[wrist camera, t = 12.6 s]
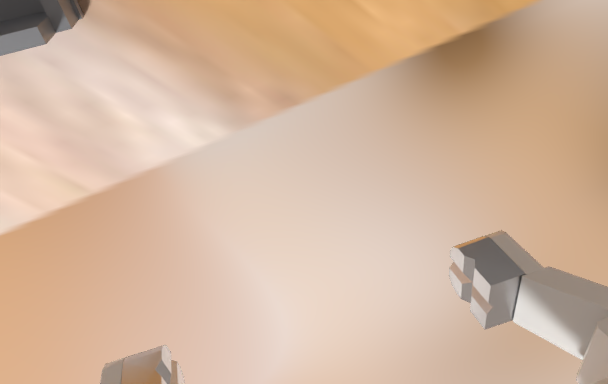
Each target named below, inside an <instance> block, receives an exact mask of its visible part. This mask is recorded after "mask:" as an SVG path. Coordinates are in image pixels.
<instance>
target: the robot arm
mask: <svg viewBox="0 0 608 384" xmlns="http://www.w3.org/2000/svg"><path fill="white" fill-rule="evenodd" d="M450 257H451V259H452V260H453V261H454V262H453V264H452V265H451V267H450V268H449V269H450V271H449V276H450V279H451V283H452V286H453V287H454V289H455V291H456V292H457V294H458V295H459V297H460V298H461V299H463V300H465V301H467V302H470V303H471V306H470V311H471V313H472V314H473V315H474V316H475V318H476V319H477V320H478V322H479V323H480V324H481V325H482V327H483V328H484V329H488V328H491V327H494V326H496V325H500V324H503V323H506V322H508V321H512V320H513V322H514V323H516V324H518V325H520V326H522V327H524V328H525V329H527V330H529V331H531V332H532V333H534V334H536V335H538V336H540V337H541V338H543V339H545V340H547V341H548V342H551V343H552V344H554V345H556V346H558V347H559V348H561V349H563V350H565V351H567V352H568V353H570V354H572V355H574V356H576V357H578V358H579V359H581V360H582V363H581V366H580V368H579V370H578V373H577V377H576V381H577V382H578V383H579V384H608V287H607V286H604V285H601V284H598V283H595V282H592V281H589V280H586V279H584V278H581V277H578V276H575V275H572V274H569V273H566V272H564V271H561V270H558V269H555V268H552V267H546V268H544V267H543V266H542V265H541V264H539V263H538V262H537V261H536V260H535V259H534V258H533V257H532V256H531V255H530V254H529V253H528V252H526V251H525V250H524V249H523V248H522V247H521V246H520V245H519V244H518V243H517V242H516V241H515V240H514V239H512V238H511V237H510V236H509V235H508V234H507V233H506V232H504V231H502V230H501V231H498V232H495V233H492V234H489V235H486V236H482V237H479V238H476V239H474V240H471V241H468V242H465V243H462V244H459V245H457V246H454V247H452V249H451V250H450ZM100 384H185V382H184V377H183V373H182V371H181V368H180V366H179V364H178V363H177V362H176V361H173V360H171V351H170V350H169V349H168V347H167V346H166V345H164V346H160V347H157V348H154V349H151V350H148V351H144V352H141V353H138V354H134V355H131V356H128V357H125V358H122V359H119V360H116V361H113V362H110V363H107V364H105V366H104V368H103V370H102V375H101V383H100Z"/></svg>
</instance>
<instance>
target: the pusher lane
mask: <svg viewBox="0 0 608 384" xmlns="http://www.w3.org/2000/svg"><path fill="white" fill-rule="evenodd" d="M83 17H84V14H83V12H82V10H81V8H80V6H79V4H78V1H77V0H0V56H1V55H5V54H9V53H13V52H17V51H21V50H25V49H29V48H32V47H36V46H40V45H44V44H47V42H48V41H49V40H50V39H51V38H52V37H53V36H54V34H55V33H57V32H61V31H64V30H68V29H72V28H73V26H74V25H75V24H76V22H77V21H78V20H79V19H82V18H83Z"/></svg>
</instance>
